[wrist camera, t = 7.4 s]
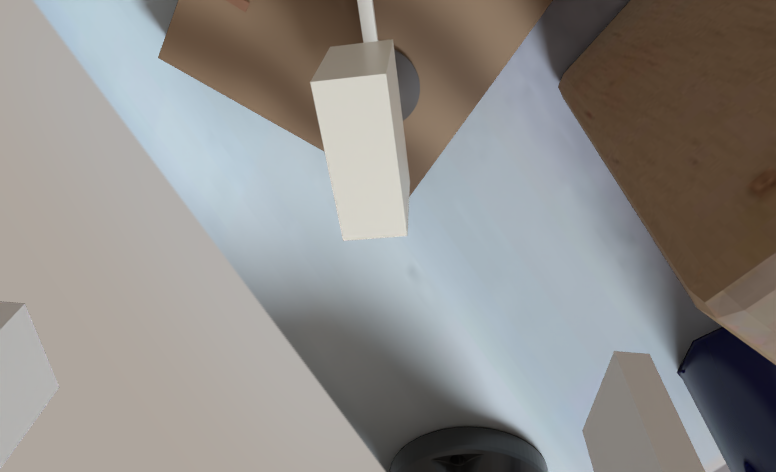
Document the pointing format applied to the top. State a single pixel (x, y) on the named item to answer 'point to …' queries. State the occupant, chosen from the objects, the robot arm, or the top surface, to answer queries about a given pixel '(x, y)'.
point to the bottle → (734, 399)
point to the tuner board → (342, 27)
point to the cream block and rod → (364, 134)
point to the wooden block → (694, 144)
